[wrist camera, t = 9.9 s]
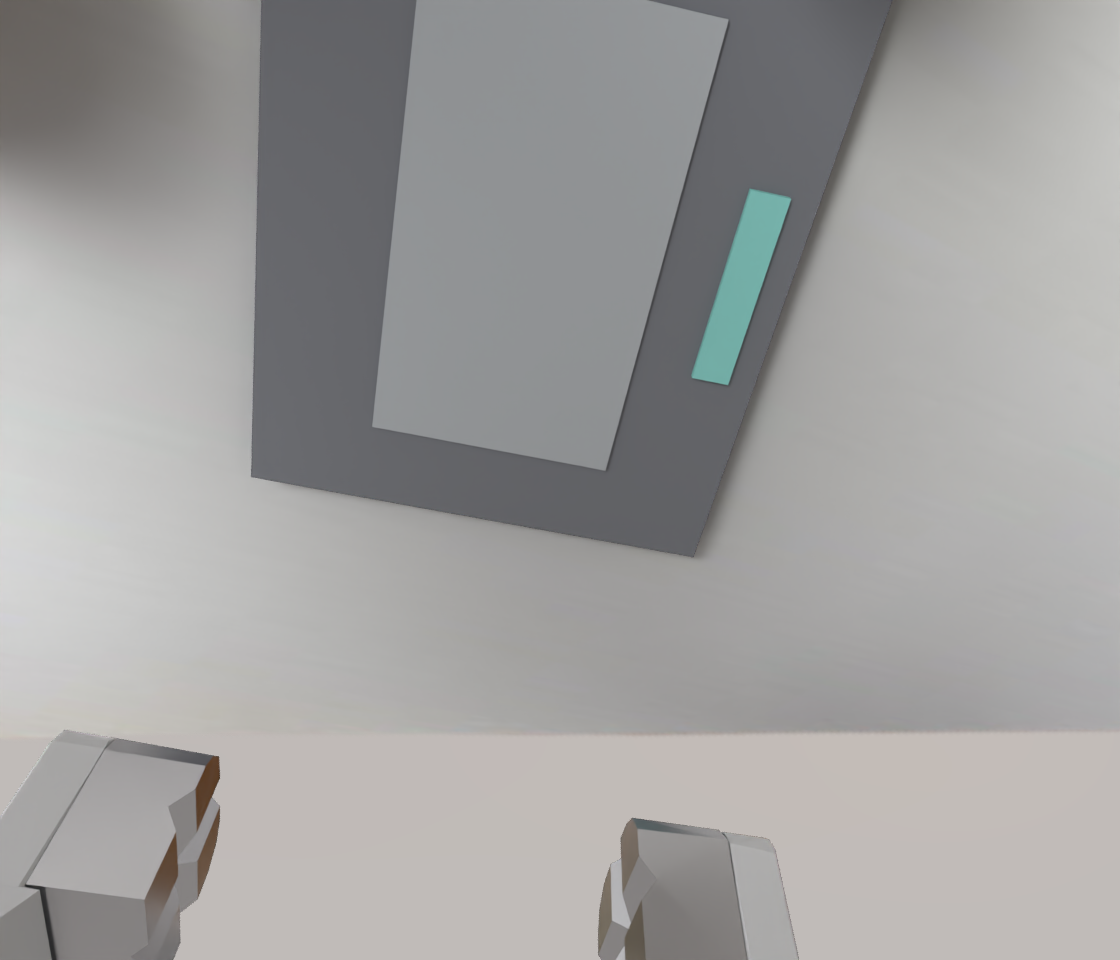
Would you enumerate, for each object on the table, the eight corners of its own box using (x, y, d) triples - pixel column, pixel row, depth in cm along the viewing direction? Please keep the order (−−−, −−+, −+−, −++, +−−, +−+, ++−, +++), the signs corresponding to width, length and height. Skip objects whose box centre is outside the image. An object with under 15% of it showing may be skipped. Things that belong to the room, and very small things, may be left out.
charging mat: (279, -236, 21) (263, -244, 20) (907, -78, 23) (923, -78, 22) (260, 462, 32) (249, 480, 31) (690, 541, 33) (693, 560, 32)
